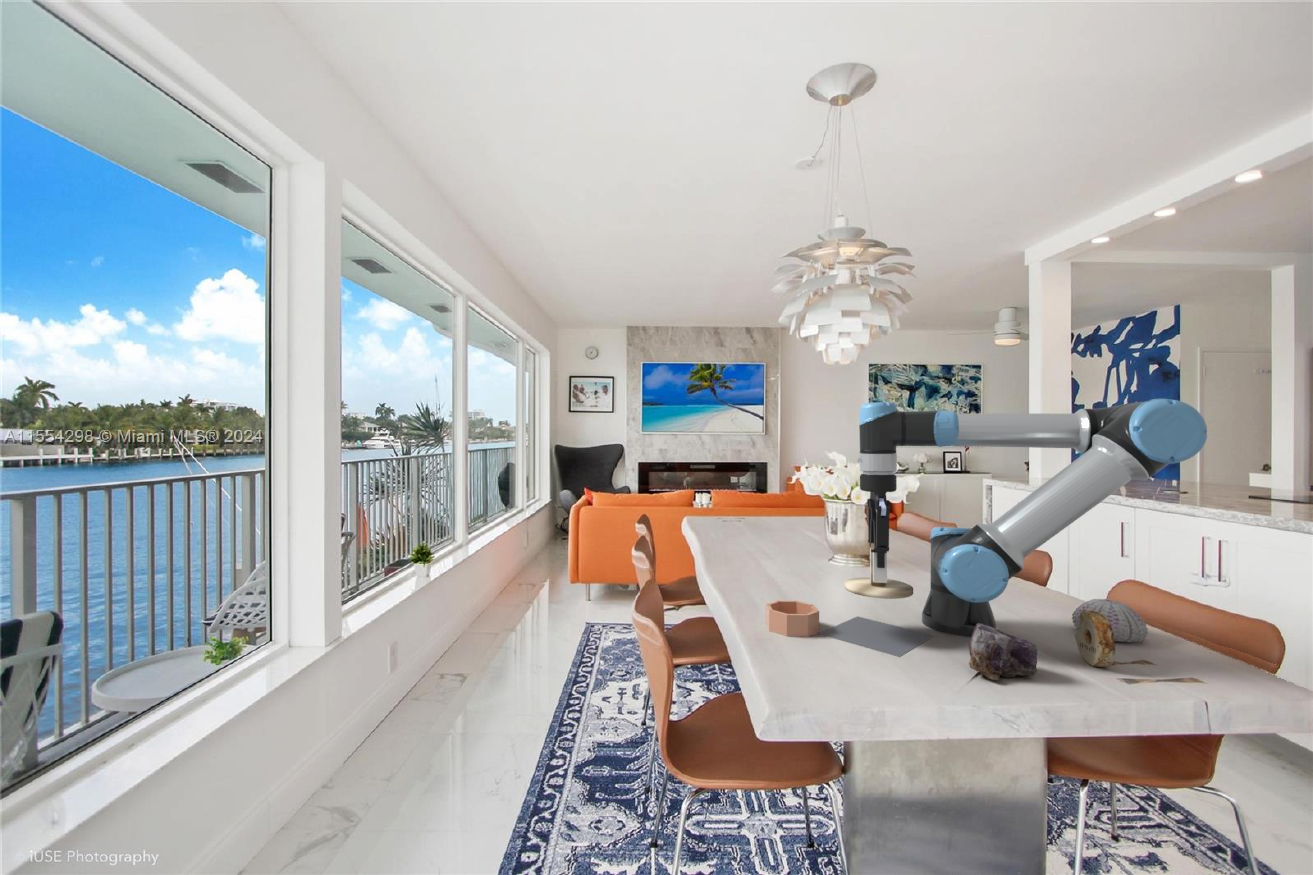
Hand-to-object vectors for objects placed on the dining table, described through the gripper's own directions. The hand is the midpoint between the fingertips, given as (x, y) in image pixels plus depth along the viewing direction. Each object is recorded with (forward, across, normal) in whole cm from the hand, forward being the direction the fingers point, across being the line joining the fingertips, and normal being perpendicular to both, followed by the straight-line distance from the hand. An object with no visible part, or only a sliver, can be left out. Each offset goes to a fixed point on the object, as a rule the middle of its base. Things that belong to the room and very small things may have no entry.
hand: (878, 580), depth 125 cm
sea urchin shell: (+13, -12, +51) cm, 54 cm away
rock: (+13, +16, +18) cm, 27 cm away
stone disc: (+13, +7, +39) cm, 41 cm away
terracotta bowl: (+12, 0, -18) cm, 22 cm away
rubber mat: (+12, 0, 0) cm, 12 cm away
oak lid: (+2, 0, 0) cm, 2 cm away
